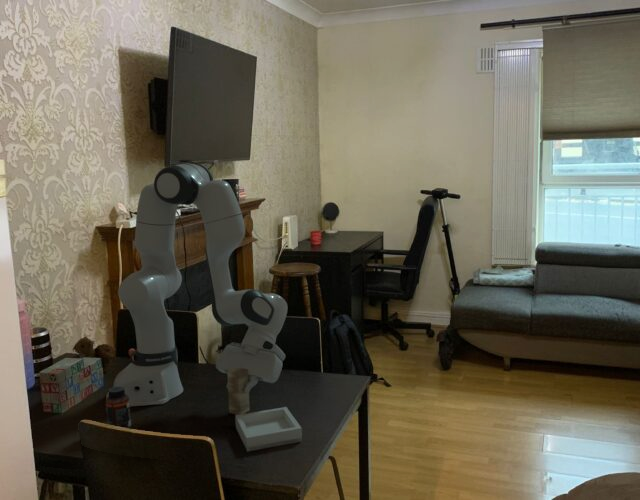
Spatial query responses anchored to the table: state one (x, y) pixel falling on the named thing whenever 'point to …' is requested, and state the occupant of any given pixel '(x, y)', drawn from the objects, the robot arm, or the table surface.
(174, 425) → the table surface
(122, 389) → the supplement bottle
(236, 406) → the handle block
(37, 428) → the table surface
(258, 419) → the tray
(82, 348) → the stuffed squirrel
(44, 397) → the stack of blocks
